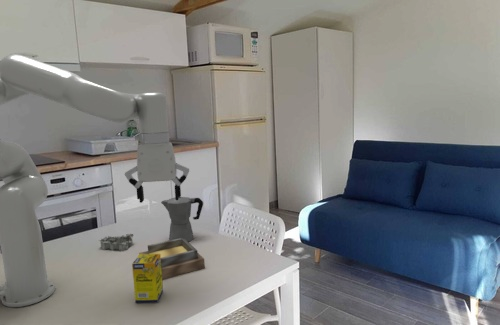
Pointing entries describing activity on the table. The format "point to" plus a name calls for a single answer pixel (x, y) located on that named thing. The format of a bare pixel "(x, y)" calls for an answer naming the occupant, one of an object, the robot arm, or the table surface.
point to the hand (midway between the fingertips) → (159, 200)
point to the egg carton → (117, 242)
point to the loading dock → (176, 257)
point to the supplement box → (147, 278)
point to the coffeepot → (181, 216)
